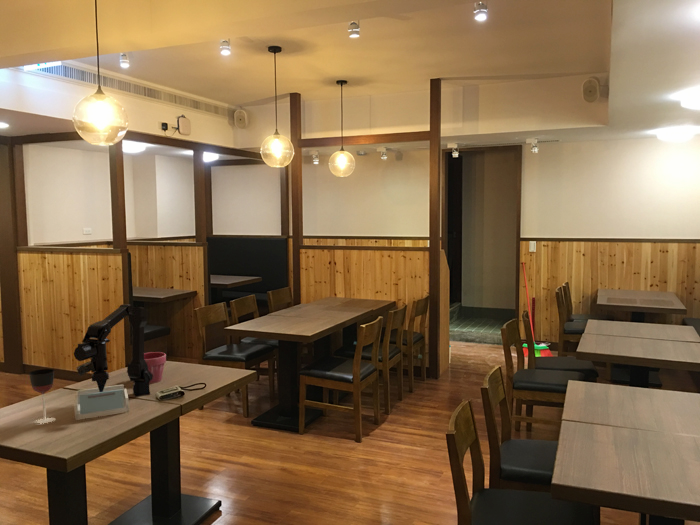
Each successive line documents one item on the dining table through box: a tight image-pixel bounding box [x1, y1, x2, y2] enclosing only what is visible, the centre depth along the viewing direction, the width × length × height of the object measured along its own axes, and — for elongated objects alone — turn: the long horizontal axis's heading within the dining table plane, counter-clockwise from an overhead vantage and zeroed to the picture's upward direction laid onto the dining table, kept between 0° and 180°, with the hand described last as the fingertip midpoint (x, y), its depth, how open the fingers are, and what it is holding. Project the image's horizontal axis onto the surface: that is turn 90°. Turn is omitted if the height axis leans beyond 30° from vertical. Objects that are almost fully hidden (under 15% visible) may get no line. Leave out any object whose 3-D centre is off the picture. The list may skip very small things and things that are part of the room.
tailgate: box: [79, 389, 124, 414], centre depth 227 cm, size 16×2×8 cm, turn 115°
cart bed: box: [73, 384, 130, 421], centre depth 234 cm, size 20×14×8 cm
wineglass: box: [28, 368, 56, 425], centre depth 223 cm, size 8×9×20 cm
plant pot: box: [144, 351, 167, 384], centre depth 275 cm, size 14×14×13 cm
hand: (101, 392), depth 231 cm, fingers closed
